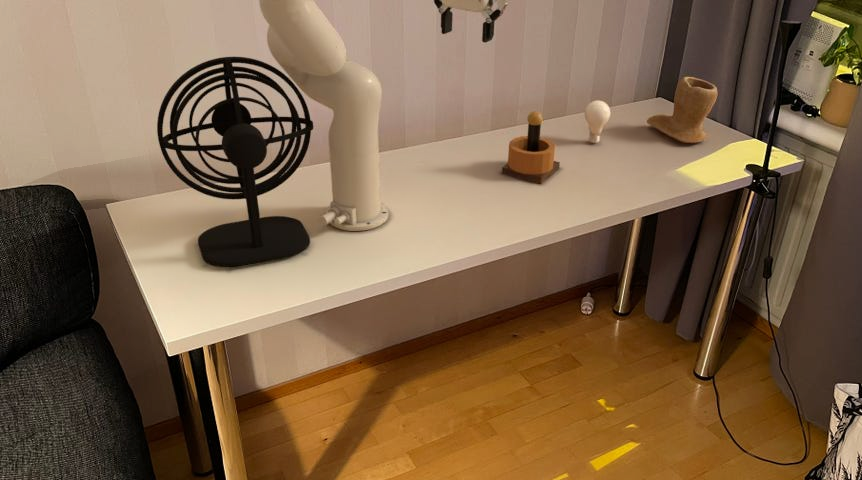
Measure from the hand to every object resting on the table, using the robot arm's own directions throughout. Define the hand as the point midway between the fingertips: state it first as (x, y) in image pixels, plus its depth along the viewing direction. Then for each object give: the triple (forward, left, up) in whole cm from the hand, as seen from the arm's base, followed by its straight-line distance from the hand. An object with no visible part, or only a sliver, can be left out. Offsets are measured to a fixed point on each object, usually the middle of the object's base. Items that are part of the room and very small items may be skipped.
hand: (466, 36), depth 162 cm
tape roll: (+11, -12, -30) cm, 34 cm away
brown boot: (+54, -35, -32) cm, 71 cm away
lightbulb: (+36, -18, -32) cm, 51 cm away
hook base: (+12, -12, -32) cm, 36 cm away
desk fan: (-47, +18, -32) cm, 60 cm away
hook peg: (+12, -12, -30) cm, 34 cm away
